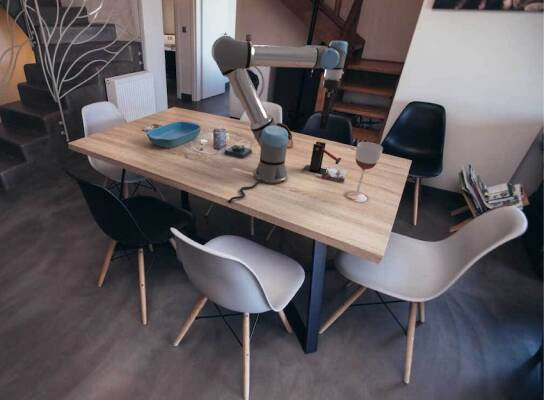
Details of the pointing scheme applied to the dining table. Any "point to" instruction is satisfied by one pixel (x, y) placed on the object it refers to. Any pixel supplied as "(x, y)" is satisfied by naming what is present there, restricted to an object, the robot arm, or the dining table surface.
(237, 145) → the button
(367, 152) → the wineglass
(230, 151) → the button box
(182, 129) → the casserole dish
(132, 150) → the dining table surface
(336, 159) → the lever
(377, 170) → the dining table surface
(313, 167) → the bracket
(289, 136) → the sword hilt
